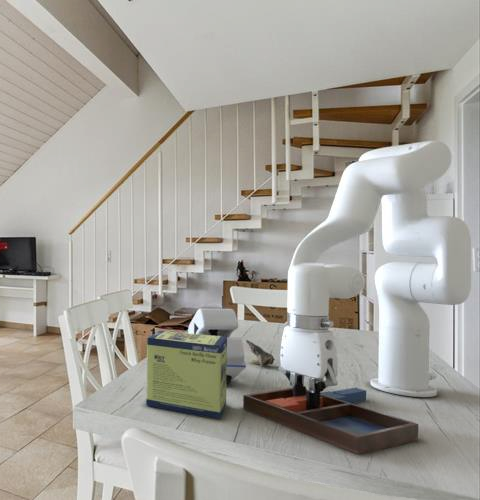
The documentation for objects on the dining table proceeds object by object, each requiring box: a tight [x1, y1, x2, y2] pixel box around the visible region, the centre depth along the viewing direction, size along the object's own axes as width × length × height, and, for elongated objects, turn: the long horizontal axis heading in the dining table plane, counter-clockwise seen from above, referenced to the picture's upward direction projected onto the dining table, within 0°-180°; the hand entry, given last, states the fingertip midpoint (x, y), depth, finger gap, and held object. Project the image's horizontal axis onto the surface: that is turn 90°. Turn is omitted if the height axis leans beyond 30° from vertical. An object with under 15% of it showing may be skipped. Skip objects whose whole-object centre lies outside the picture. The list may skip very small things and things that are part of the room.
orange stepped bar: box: [266, 395, 323, 412], centre depth 102 cm, size 13×4×2 cm, turn 111°
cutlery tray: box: [242, 387, 419, 456], centre depth 97 cm, size 17×24×3 cm
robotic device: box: [187, 307, 247, 386], centre depth 129 cm, size 10×21×20 cm
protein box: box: [145, 330, 227, 420], centre depth 107 cm, size 10×16×16 cm
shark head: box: [245, 339, 275, 368], centre depth 142 cm, size 8×6×7 cm
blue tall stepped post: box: [320, 387, 367, 404], centre depth 109 cm, size 13×4×2 cm, turn 111°
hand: (306, 406), depth 103 cm, fingers closed on orange stepped bar, 2 cm apart
